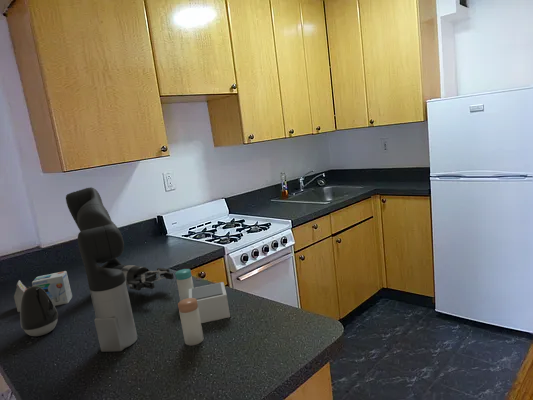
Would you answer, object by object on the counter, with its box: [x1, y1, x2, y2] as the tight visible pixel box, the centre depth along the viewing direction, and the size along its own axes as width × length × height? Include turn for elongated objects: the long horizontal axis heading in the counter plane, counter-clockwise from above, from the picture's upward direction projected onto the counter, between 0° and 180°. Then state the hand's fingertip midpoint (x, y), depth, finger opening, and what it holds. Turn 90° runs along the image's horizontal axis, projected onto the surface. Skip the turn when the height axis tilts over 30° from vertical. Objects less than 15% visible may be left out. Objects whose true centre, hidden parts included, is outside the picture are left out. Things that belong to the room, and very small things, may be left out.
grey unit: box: [189, 281, 231, 324], centre depth 119 cm, size 11×11×7 cm
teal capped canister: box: [175, 268, 195, 302], centre depth 128 cm, size 5×5×11 cm
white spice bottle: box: [177, 298, 205, 346], centre depth 103 cm, size 5×5×11 cm
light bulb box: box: [31, 270, 73, 307], centre depth 146 cm, size 11×7×11 cm, turn 105°
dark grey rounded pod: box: [19, 285, 59, 337], centre depth 122 cm, size 10×10×15 cm
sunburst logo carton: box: [13, 280, 27, 313], centre depth 146 cm, size 4×7×10 cm, turn 27°
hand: (163, 280), depth 135 cm, fingers open, 8 cm apart
